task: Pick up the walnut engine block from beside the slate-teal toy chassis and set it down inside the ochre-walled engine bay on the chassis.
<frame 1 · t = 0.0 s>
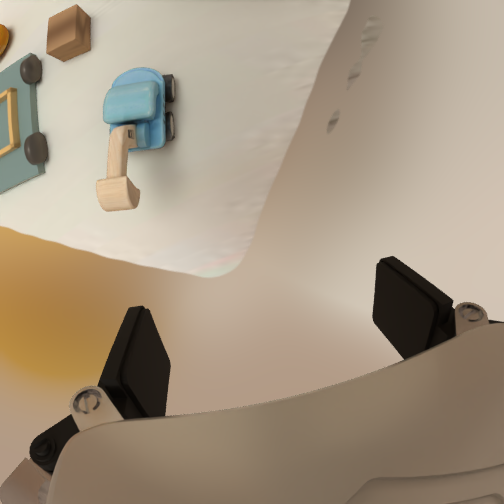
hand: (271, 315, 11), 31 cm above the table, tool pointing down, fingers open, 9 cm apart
engine block: (77, 39, 27), on the table
chassis: (7, 127, 29), on the table
toy excavator: (146, 131, 35), on the table
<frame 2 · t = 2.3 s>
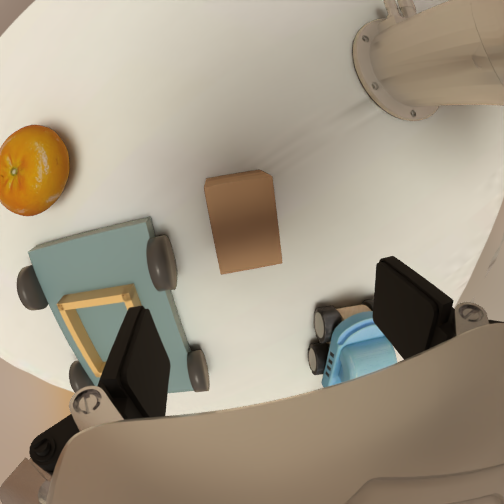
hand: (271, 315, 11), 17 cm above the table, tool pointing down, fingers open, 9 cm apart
engine block: (238, 209, 27), on the table
chassis: (118, 320, 29), on the table
fruit: (48, 166, 22), on the table
toy excavator: (336, 344, 35), on the table
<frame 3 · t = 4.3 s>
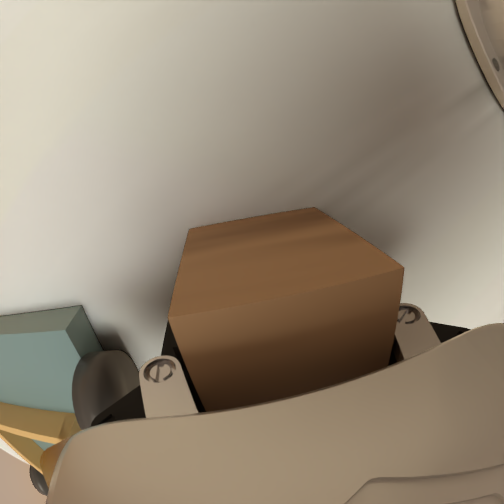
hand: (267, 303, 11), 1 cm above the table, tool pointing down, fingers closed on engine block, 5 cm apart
engine block: (264, 295, 12), on the table, touching gripper
chassis: (74, 432, 15), on the table
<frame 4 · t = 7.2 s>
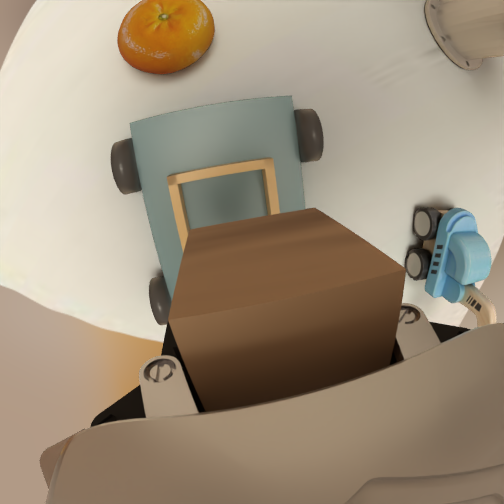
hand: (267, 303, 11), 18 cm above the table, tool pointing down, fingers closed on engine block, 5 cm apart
engine block: (264, 296, 12), point 17 cm above the table, touching gripper
chassis: (227, 215, 28), on the table
fruit: (170, 44, 21), on the table
toy excavator: (425, 257, 34), on the table
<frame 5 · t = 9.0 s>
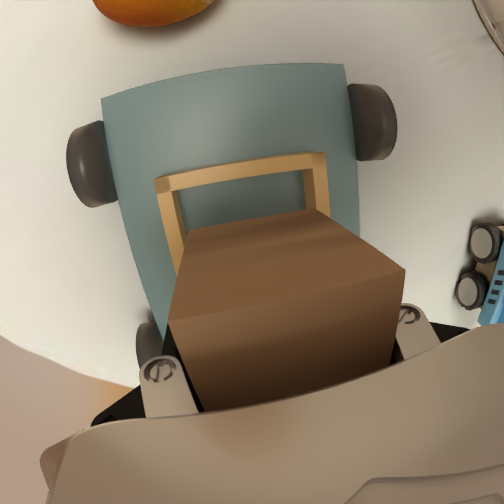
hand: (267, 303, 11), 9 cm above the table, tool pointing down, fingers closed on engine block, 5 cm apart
engine block: (264, 296, 12), point 8 cm above the table, touching gripper
chassis: (247, 235, 19), on the table
toy excavator: (474, 279, 25), on the table
when the fingers open (5 cm above the table, at t = 10.2 s): engine block drops 2 cm, resting on chassis.
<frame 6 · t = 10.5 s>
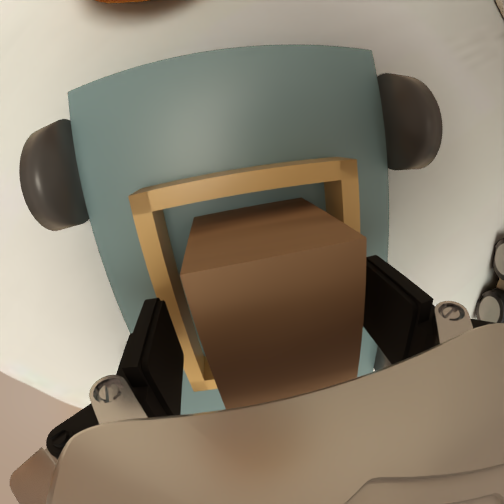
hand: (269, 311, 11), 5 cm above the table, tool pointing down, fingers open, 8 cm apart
engine block: (259, 275, 14), point 2 cm above the table, touching chassis
chassis: (252, 261, 16), on the table
toy excavator: (493, 295, 22), on the table
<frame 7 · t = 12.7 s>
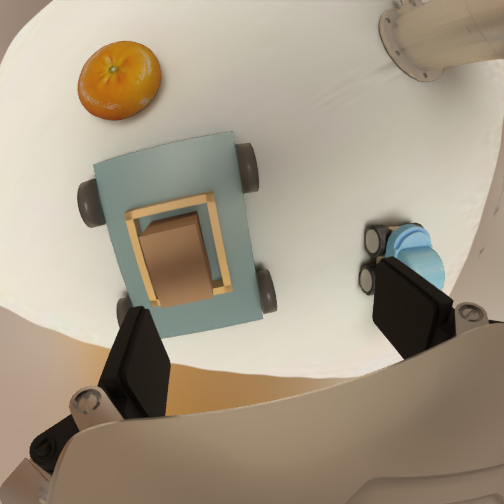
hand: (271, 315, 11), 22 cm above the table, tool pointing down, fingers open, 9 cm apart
engine block: (181, 247, 29), point 2 cm above the table, touching chassis
chassis: (181, 242, 31), on the table
fruit: (126, 87, 24), on the table
toy excavator: (381, 271, 38), on the table
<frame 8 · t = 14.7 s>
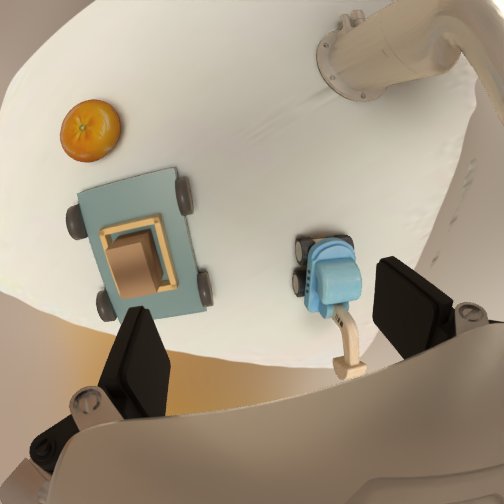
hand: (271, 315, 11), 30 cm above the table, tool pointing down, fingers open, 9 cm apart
engine block: (141, 254, 38), point 2 cm above the table, touching chassis
chassis: (143, 250, 40), on the table
fruit: (99, 131, 33), on the table
toy excavator: (316, 276, 46), on the table
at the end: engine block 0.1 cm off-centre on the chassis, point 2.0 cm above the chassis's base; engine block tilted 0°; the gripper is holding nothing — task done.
